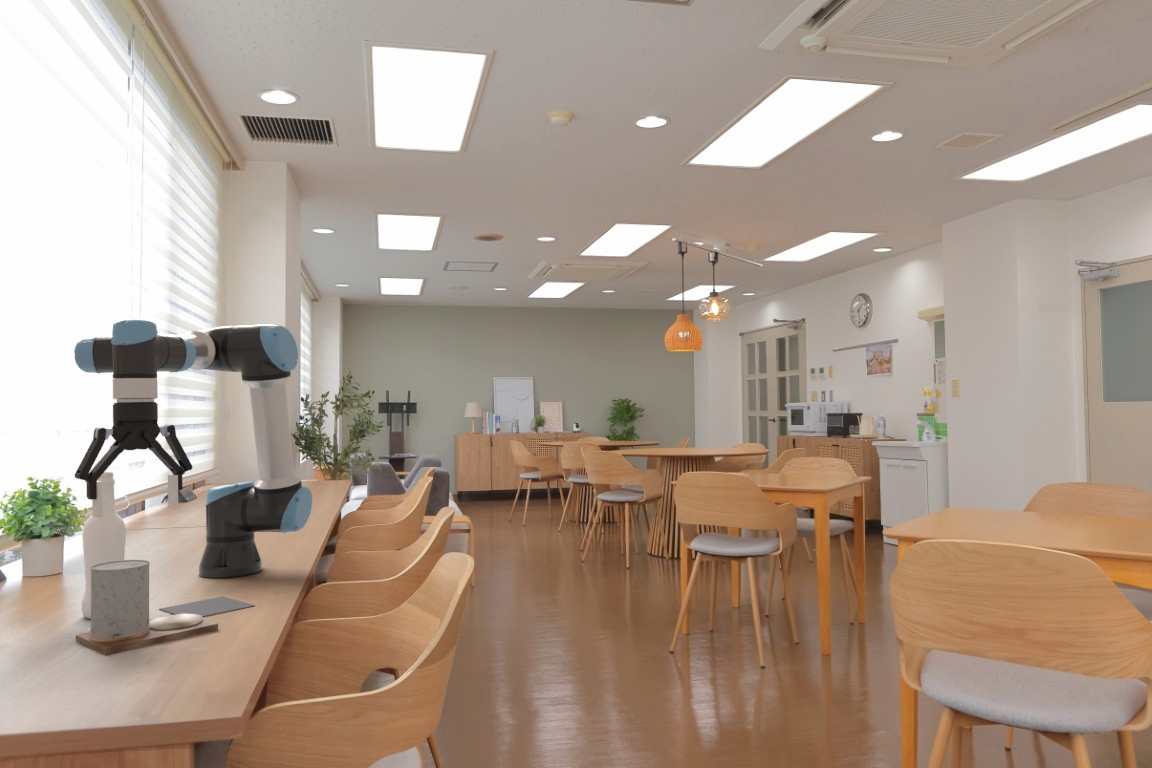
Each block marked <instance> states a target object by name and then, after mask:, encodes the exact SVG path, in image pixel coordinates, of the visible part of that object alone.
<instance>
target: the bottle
mask: <svg viewBox="0 0 1152 768" xmlns="http://www.w3.org/2000/svg"><path fill="white" fill-rule="evenodd" d="M97 481H100V482H102V504H103V517H100V518H97V517H93V516H92V514H91V515H90V516H89V517H88V518H87V520H86V521H85V523H84V526H83V527H82V536H81V537H82V549H83V550H82V551H83V565H84V580H85V581H84V582H85V585H84V586H85V590H84V594H83V596H82V599H81V612H82V616H83V617H84V618H85V619H86V620H91V567H92V566H94V565H97V564H101V563H106V562H113V561H123V560H125V551H126V541H127V540H126V538H127V527H126V524H125V520H124V519H123V518H122V517H121V515H120V514H119V513H117V511H116V510H115V509H116V508H115V505H116V504H115V484H116V481H115V479H114V472H113V471H110V470H105V472H104V473H103V474H102V475H101V476H100V478H99V479H98V480H97Z"/></svg>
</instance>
